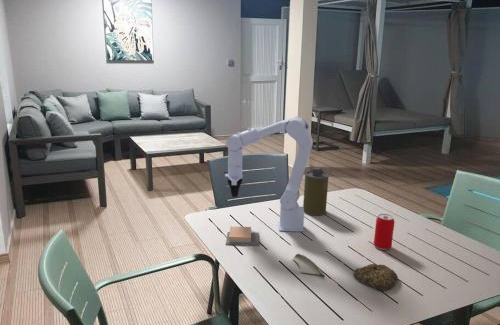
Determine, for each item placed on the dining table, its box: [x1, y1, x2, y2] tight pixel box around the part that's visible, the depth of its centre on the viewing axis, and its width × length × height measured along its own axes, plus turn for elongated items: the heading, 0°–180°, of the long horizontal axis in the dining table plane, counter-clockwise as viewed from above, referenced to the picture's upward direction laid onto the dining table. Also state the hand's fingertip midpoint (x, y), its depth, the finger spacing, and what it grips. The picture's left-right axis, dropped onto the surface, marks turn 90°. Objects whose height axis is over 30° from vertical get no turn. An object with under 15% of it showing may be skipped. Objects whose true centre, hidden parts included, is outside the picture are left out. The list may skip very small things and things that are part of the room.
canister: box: [302, 166, 330, 217], centre depth 175 cm, size 11×10×20 cm
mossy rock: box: [352, 263, 398, 291], centre depth 125 cm, size 13×12×5 cm
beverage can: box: [373, 213, 395, 251], centre depth 144 cm, size 6×6×12 cm
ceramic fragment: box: [292, 253, 325, 277], centre depth 129 cm, size 14×5×4 cm, turn 33°
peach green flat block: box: [229, 226, 252, 242], centre depth 150 cm, size 8×2×9 cm
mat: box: [225, 231, 260, 246], centre depth 150 cm, size 12×10×1 cm
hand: (234, 196), depth 164 cm, fingers closed
